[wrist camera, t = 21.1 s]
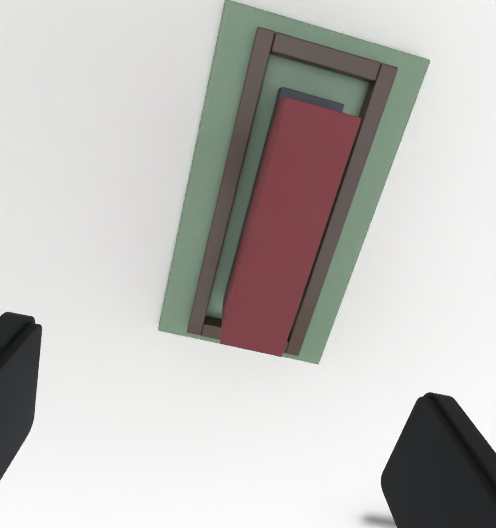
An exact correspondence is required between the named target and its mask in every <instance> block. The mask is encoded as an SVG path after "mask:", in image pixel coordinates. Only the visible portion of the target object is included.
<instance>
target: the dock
mask: <svg viewBox="0 0 496 528" xmlns="http://www.w3.org/2000/svg"><path fill="white" fill-rule="evenodd" d="M429 63H430V60H428V59H425V58H422V57H418V56H415V55H412V54H408V53H405V52H402V51H398V50H395V49H391V48H388V47H385V46H381V45H378V44H375V43H371V42H368V41H365V40H361V39H358V38H355V37H351V36H348V35H344V34H341V33H338V32H334V31H331V30H328V29H324V28H321V27H318V26H314V25H311V24H308V23H304V22H301V21H297V20H294V19H291V18H287V17H284V16H281V15H277V14H274V13H271V12H267V11H264V10H261V9H257V8H254V7H250V6H247V5H244V4H240V3H237V2H234V1H230V0H225V4H224V9H223V14H222V19H221V24H220V29H219V34H218V38H217V43H216V48H215V53H214V58H213V63H212V68H211V73H210V78H209V83H208V88H207V92H206V97H205V102H204V107H203V112H202V117H201V122H200V127H199V132H198V137H197V141H196V146H195V151H194V156H193V161H192V166H191V171H190V176H189V181H188V186H187V191H186V195H185V200H184V205H183V210H182V215H181V220H180V225H179V230H178V235H177V240H176V245H175V249H174V254H173V259H172V264H171V269H170V274H169V279H168V284H167V289H166V294H165V299H164V303H163V308H162V313H161V318H160V323H159V328H158V330H159V331H163V332H168V333H173V334H177V335H182V336H187V337H192V338H196V339H201V340H206V341H211V342H215V343H220V335H221V324H222V307H223V298H224V295H225V291H226V287H227V283H228V279H229V276H230V272H231V268H232V264H233V260H234V257H235V253H236V249H237V245H238V242H239V238H240V234H241V230H242V226H243V223H244V219H245V215H246V211H247V207H248V204H249V200H250V196H251V192H252V188H253V185H254V181H255V177H256V173H257V169H258V166H259V162H260V158H261V154H262V151H263V147H264V143H265V139H266V135H267V132H268V128H269V124H270V120H271V116H272V113H273V109H274V105H275V101H276V97H277V94H278V90H279V88H281V87H285V88H289V89H292V90H296V91H299V92H303V93H306V94H310V95H313V96H317V97H320V98H324V99H327V100H331V101H334V102H338V103H341V104H344V108H343V111H342V113H346V114H349V115H353V116H357V117H360V118H361V122H360V124H359V127H358V130H357V133H356V136H355V139H354V142H353V145H352V148H351V151H350V154H349V157H348V160H347V163H346V166H345V169H344V172H343V175H342V178H341V181H340V184H339V187H338V190H337V193H336V196H335V199H334V202H333V205H332V208H331V211H330V214H329V217H328V220H327V223H326V226H325V229H324V232H323V235H322V238H321V241H320V244H319V247H318V250H317V253H316V256H315V259H314V262H313V265H312V268H311V271H310V274H309V276H308V279H307V282H306V285H305V288H304V291H303V294H302V297H301V300H300V303H299V306H298V309H297V312H296V315H295V318H294V321H293V324H292V327H291V330H290V333H289V336H288V339H287V342H286V345H285V348H284V351H283V354H282V357H287V358H291V359H296V360H301V361H306V362H310V363H315V364H319V361H320V359H321V356H322V353H323V350H324V348H325V345H326V342H327V340H328V337H329V334H330V331H331V329H332V326H333V323H334V321H335V318H336V315H337V312H338V310H339V307H340V304H341V302H342V299H343V296H344V293H345V291H346V288H347V285H348V283H349V280H350V277H351V274H352V272H353V269H354V266H355V264H356V261H357V258H358V255H359V253H360V250H361V247H362V245H363V242H364V239H365V236H366V234H367V231H368V228H369V226H370V223H371V220H372V217H373V215H374V212H375V209H376V206H377V204H378V201H379V198H380V196H381V193H382V190H383V187H384V185H385V182H386V179H387V177H388V174H389V171H390V168H391V166H392V163H393V160H394V158H395V155H396V152H397V149H398V147H399V144H400V141H401V139H402V136H403V133H404V130H405V128H406V125H407V122H408V120H409V117H410V114H411V111H412V109H413V106H414V103H415V101H416V98H417V95H418V92H419V90H420V87H421V84H422V82H423V79H424V76H425V73H426V71H427V68H428V65H429Z"/></svg>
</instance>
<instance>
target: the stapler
mask: <svg viewBox="0 0 496 528" xmlns="http://www.w3.org/2000/svg"><path fill="white" fill-rule="evenodd" d="M343 108H344V104H341V103H338V102H334V101H331V100H327V99H324V98H320V97H317V96H313V95H310V94H306V93H303V92H299V91H296V90H292V89H289V88H285V87H281V88H279V90H278V94H277V97H276V101H275V105H274V109H273V113H272V116H271V120H270V124H269V128H268V132H267V135H266V139H265V143H264V147H263V151H262V154H261V158H260V162H259V166H258V169H257V173H256V177H255V181H254V185H253V188H252V192H251V196H250V200H249V204H248V207H247V211H246V215H245V219H244V223H243V226H242V230H241V234H240V238H239V242H238V245H237V249H236V253H235V257H234V260H233V264H232V268H231V272H230V276H229V279H228V283H227V287H226V291H225V295H224V298H223V307H222V324H221V335H220V344H224V345H229V346H233V347H238V348H243V349H247V350H252V351H257V352H261V353H266V354H271V355H275V356H280V357H281V356H282V354H283V351H284V348H285V345H286V342H287V339H288V336H289V333H290V330H291V327H292V324H293V321H294V318H295V315H296V312H297V309H298V306H299V303H300V300H301V297H302V294H303V291H304V288H305V285H306V282H307V279H308V276H309V274H310V271H311V268H312V265H313V262H314V259H315V256H316V253H317V250H318V247H319V244H320V241H321V238H322V235H323V232H324V229H325V226H326V223H327V220H328V217H329V214H330V211H331V208H332V205H333V202H334V199H335V196H336V193H337V190H338V187H339V184H340V181H341V178H342V175H343V172H344V169H345V166H346V163H347V160H348V157H349V154H350V151H351V148H352V145H353V142H354V139H355V136H356V133H357V130H358V127H359V124H360V122H361V118H360V117H357V116H353V115H349V114H346V113H342V111H343Z"/></svg>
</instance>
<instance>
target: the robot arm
mask: <svg viewBox="0 0 496 528" xmlns="http://www.w3.org/2000/svg"><path fill="white" fill-rule="evenodd" d="M41 335H42V326H41V325H40V324H35V320H34V318H33V317H32V316H27V315H22V314H16V313H11V312H5V313H4V314H2V315H1V316H0V480H1V478H2V477H3V475H4V473H5V472H6V470H7V468H8V467H9V465H10V464H11V462H12V460H13V459H14V457H15V455H16V454H17V452H18V450H19V449H20V447H21V445H22V444H23V442H24V441H25V439H26V437H27V436H28V434H29V432H30V429H31V427H32V424H33V420H34V412H35V401H36V390H37V379H38V368H39V357H40V346H41ZM381 487H382V491H383V493H384V496H385V498H386V501H387V503H388V506H389V508H390V511H391V513H392V516H393V519H394V521H395V524H396V526H397V528H496V453H495V451H494V450H493V449H492V448H491V446H490V445H489V444H488V442H487V441H486V440H485V438H484V437H483V436H482V434H481V433H480V432H479V431H478V429H477V428H476V427H475V425H474V424H473V423H472V421H471V420H470V419H469V417H468V416H467V415H466V414H465V412H464V411H463V410H462V408H461V407H460V406H459V404H458V403H457V402H456V400H455V399H454V398H453V397H450V396H446V395H441V394H436V393H431V392H429V393H426V394H425V395H424V396H423V397H420V398H418V400H417V401H416V403H415V405H414V407H413V409H412V412H411V414H410V416H409V418H408V420H407V422H406V424H405V426H404V429H403V431H402V433H401V435H400V437H399V439H398V441H397V443H396V445H395V448H394V450H393V452H392V454H391V456H390V458H389V460H388V462H387V464H386V467H385V469H384V471H383V473H382V476H381Z"/></svg>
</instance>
